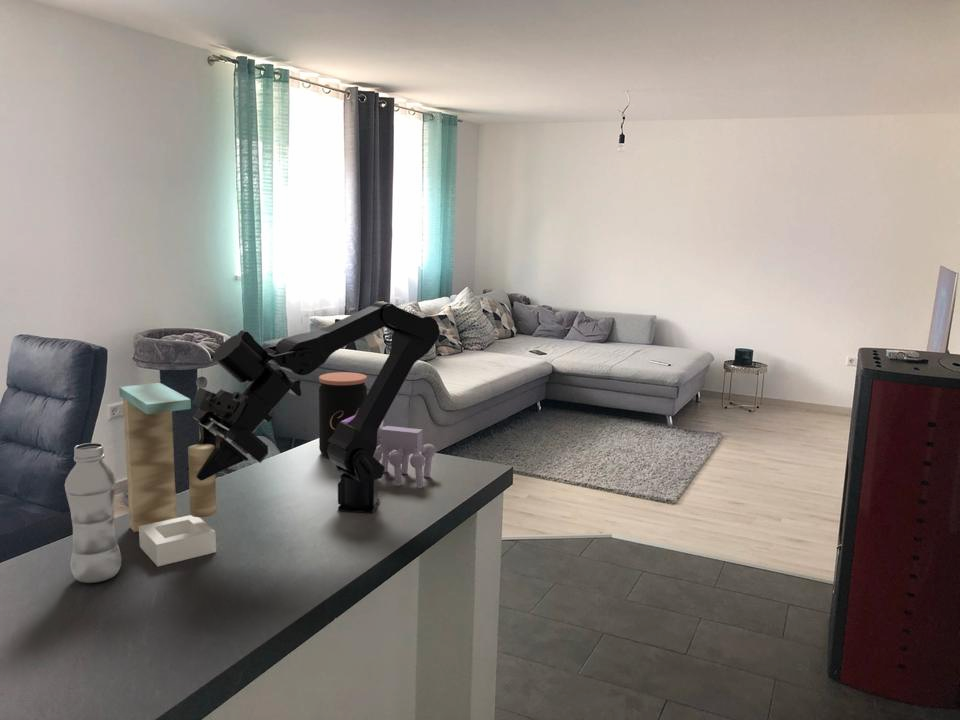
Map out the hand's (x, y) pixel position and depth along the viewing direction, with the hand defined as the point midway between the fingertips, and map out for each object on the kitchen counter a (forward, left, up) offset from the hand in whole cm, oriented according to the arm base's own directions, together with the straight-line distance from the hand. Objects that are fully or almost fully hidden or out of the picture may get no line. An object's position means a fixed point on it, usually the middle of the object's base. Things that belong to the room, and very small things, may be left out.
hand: (193, 475), depth 124 cm
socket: (+2, +2, -12) cm, 12 cm away
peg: (-1, -1, -7) cm, 7 cm away
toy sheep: (-22, -39, -12) cm, 47 cm away
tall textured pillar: (+7, -2, -12) cm, 14 cm away
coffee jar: (-9, -53, -12) cm, 56 cm away
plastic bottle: (+9, +14, -12) cm, 20 cm away
